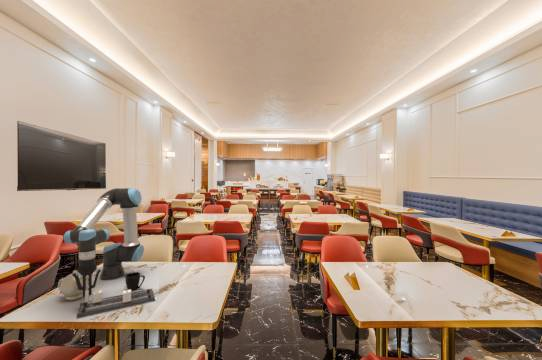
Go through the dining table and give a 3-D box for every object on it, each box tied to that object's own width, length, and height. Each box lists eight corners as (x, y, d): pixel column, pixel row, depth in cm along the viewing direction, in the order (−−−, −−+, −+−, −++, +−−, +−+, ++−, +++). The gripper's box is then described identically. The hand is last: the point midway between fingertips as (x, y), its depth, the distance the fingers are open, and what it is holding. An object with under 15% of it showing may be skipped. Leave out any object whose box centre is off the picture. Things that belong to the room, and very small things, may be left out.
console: (80, 306, 139) (80, 300, 139) (152, 291, 158) (152, 286, 158) (77, 318, 127) (77, 312, 127) (154, 300, 145) (154, 295, 146)
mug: (139, 292, 156) (140, 277, 156) (122, 291, 158) (122, 276, 158) (148, 287, 164) (148, 272, 164) (131, 286, 166) (131, 271, 166)
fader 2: (122, 299, 141) (122, 290, 141) (130, 298, 143) (130, 288, 143) (122, 302, 138) (122, 293, 138) (131, 300, 140) (131, 291, 140)
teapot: (95, 292, 156) (95, 266, 156) (77, 303, 142) (77, 274, 142) (68, 292, 157) (68, 266, 157) (47, 302, 144) (47, 273, 144)
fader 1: (93, 300, 141) (93, 290, 141) (102, 298, 143) (102, 289, 143) (93, 303, 137) (93, 293, 137) (101, 301, 139) (101, 291, 139)
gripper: (71, 262, 131) (70, 307, 131) (101, 258, 138) (100, 301, 138) (73, 258, 138) (73, 301, 137) (102, 254, 144) (101, 295, 144)
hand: (87, 301), depth 138 cm, fingers closed
